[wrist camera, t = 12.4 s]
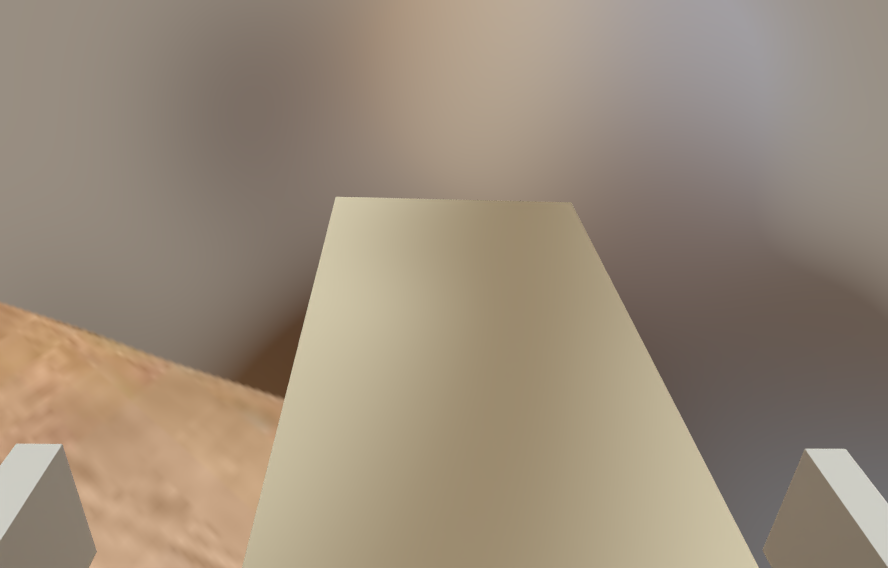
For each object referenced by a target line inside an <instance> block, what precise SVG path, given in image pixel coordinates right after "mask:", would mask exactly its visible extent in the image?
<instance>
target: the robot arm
mask: <svg viewBox="0 0 888 568" xmlns="http://www.w3.org/2000/svg"><path fill="white" fill-rule="evenodd" d="M96 552H97V551H96V548H95V544H94V541H93V538H92V535H91V532H90V529H89V526H88V523H87V520H86V516H85V513H84V510H83V507H82V504H81V501H80V498H79V495H78V492H77V488H76V485H75V482H74V479H73V476H72V473H71V470H70V467H69V464H68V460H67V457H66V454H65V451H64V448H63V445H62V444H16V445H15V446H14V448H13V449H12V450H11V452H10V453H9V454H8V456H7V457H6V459H5V460H4V461H3V463H2V464H1V465H0V568H89V566H90V564H91V562H92V560H93V558H94V556H95V554H96ZM763 552H764V554H765V556H766V558H767V559H768V561H769V563H770V565H771V567H772V568H888V503H887V502H886V501H885V499H884V498H883V497H882V496H881V494H880V493H879V492H878V490H877V489H876V488H875V486H874V485H873V484H872V483H871V481H870V480H869V479H868V477H867V476H866V475H865V473H864V472H863V471H862V470H861V468H860V467H859V466H858V464H857V463H856V462H855V461H854V459H853V458H852V457H851V455H850V454H849V453H848V452H847V450H846V449H805V450H804V452H803V454H802V457H801V459H800V462H799V464H798V466H797V469H796V471H795V474H794V476H793V478H792V481H791V483H790V486H789V488H788V490H787V493H786V495H785V498H784V500H783V502H782V505H781V507H780V510H779V512H778V514H777V517H776V519H775V522H774V524H773V526H772V529H771V531H770V534H769V536H768V538H767V541H766V543H765V546H764V548H763Z"/></svg>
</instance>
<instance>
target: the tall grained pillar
mask: <svg viewBox="0 0 888 568" xmlns="http://www.w3.org/2000/svg"><path fill="white" fill-rule="evenodd" d="M242 568H758V566H757V563H756V562H755V560H754V558H753V556H752V554H751V552H750V550H749V548H748V546H747V544H746V542H745V540H744V538H743V536H742V534H741V532H740V530H739V529H738V527H737V525H736V523H735V521H734V519H733V517H732V515H731V513H730V511H729V509H728V507H727V505H726V503H725V501H724V499H723V497H722V495H721V493H720V491H719V490H718V488H717V486H716V484H715V482H714V480H713V478H712V476H711V474H710V472H709V470H708V468H707V466H706V464H705V462H704V460H703V458H702V457H701V455H700V453H699V451H698V449H697V447H696V445H695V443H694V441H693V439H692V437H691V435H690V433H689V431H688V429H687V427H686V425H685V424H684V421H683V419H682V418H681V416H680V414H679V412H678V410H677V408H676V406H675V404H674V402H673V400H672V398H671V396H670V395H669V392H668V390H667V388H666V386H665V384H664V383H663V381H662V379H661V377H660V375H659V373H658V371H657V369H656V367H655V365H654V363H653V361H652V359H651V357H650V355H649V353H648V351H647V349H646V348H645V346H644V344H643V342H642V340H641V338H640V336H639V334H638V332H637V330H636V328H635V326H634V324H633V322H632V320H631V318H630V316H629V314H628V312H627V311H626V309H625V307H624V305H623V303H622V301H621V299H620V297H619V295H618V293H617V291H616V289H615V287H614V285H613V283H612V281H611V279H610V277H609V275H608V274H607V272H606V270H605V268H604V266H603V264H602V262H601V260H600V258H599V256H598V254H597V252H596V250H595V248H594V246H593V244H592V242H591V240H590V239H589V237H588V235H587V233H586V231H585V229H584V227H583V225H582V223H581V221H580V219H579V217H578V215H577V213H576V211H575V210H574V207H573V205H572V204H571V203H570V202H529V201H527V202H524V201H486V200H485V201H484V200H444V199H402V198H401V199H400V198H399V199H398V198H361V197H336V198H335V202H334V206H333V210H332V215H331V218H330V222H329V226H328V230H327V234H326V238H325V242H324V246H323V250H322V254H321V258H320V262H319V266H318V270H317V274H316V278H315V281H314V286H313V290H312V293H311V298H310V301H309V305H308V309H307V313H306V317H305V321H304V326H303V329H302V333H301V337H300V341H299V345H298V349H297V353H296V357H295V361H294V365H293V369H292V373H291V376H290V381H289V384H288V388H287V393H286V396H285V400H284V404H283V408H282V412H281V416H280V420H279V424H278V428H277V432H276V436H275V440H274V444H273V448H272V452H271V456H270V460H269V464H268V467H267V471H266V475H265V479H264V483H263V487H262V491H261V495H260V499H259V503H258V507H257V511H256V515H255V519H254V523H253V527H252V531H251V535H250V539H249V543H248V547H247V551H246V555H245V558H244V562H243V566H242Z"/></svg>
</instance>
